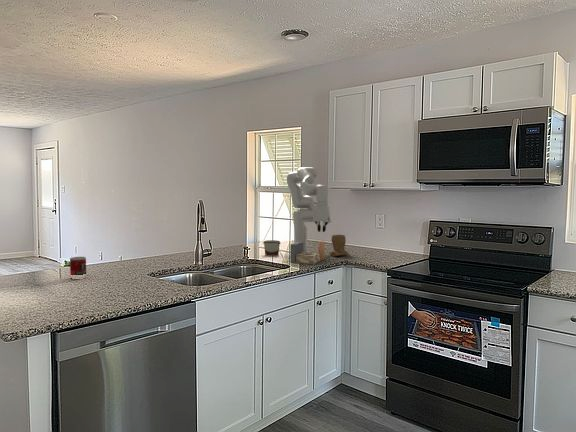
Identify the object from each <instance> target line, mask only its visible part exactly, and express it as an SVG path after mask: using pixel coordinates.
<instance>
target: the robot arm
mask: <svg viewBox="0 0 576 432" xmlns="http://www.w3.org/2000/svg"><path fill="white" fill-rule="evenodd" d="M317 176H318V171H317V169H316V168H314V167H312V166H311V167H307V166H305V167H299V168H298V169H297V171H291V172H289V173H288V174H287V176H286V183H287V187H288V189H289V191H290V197H291V201H292V206H293V208H294V209H295V210H294V211H293V213H292V220H293V243H296V242H303V252H306V253H310V250H308V248H309V246H308V227H307V225H306V224H305V223H315V224H316V226H317V232H321V231H322V232H323V233H324V232H326V230H327V227H326V226H327V225H328V224H330V223H332V221H331V218H330V217H331V216H330V215H331V213H330V207H329V205H328V204H329V202H328V201H329V199H328V197H329V196H328V195H329V192H328V191H329V188H328V185H326V184H314V182H315V180H316V178H317ZM298 184H300V185H301V187H300V185H298ZM313 197H315V200H314V199H313ZM321 222H323V223H322V224H323V225H322V226H321ZM321 227H322V228H321ZM321 229H322V230H321Z"/></svg>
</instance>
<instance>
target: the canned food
mask: <svg viewBox="0 0 576 432" xmlns="http://www.w3.org/2000/svg"><path fill="white" fill-rule="evenodd" d="M69 266H70V267H69V268H70V269H69V271H70V272H69V273H70V275H83V274H86V275H87V258H86V256H74V257H70V258H69Z"/></svg>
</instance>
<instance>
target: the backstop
mask: <svg viewBox="0 0 576 432" xmlns="http://www.w3.org/2000/svg"><path fill="white" fill-rule="evenodd" d="M289 247H290V248H289V249H290V250H289V251H290V252H289V253H290V255H289V256H290V257H289V260H290V264H291V263H292V264H296V255H297V254H300V253H302V252H303V242H296V243H294V242H292V243H290V245H289Z"/></svg>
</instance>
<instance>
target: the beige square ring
mask: <svg viewBox="0 0 576 432" xmlns="http://www.w3.org/2000/svg"><path fill="white" fill-rule="evenodd" d="M318 262H319V263H320V262H321V260H320V254H319V253H318V252H317V253H315V252H309V253H306V252H302V253H300V254H297V255H296V263H297V264H306V263H307V264H308V265H315V264H317V263H318ZM296 263H295V264H296ZM307 264H306V265H307Z"/></svg>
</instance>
